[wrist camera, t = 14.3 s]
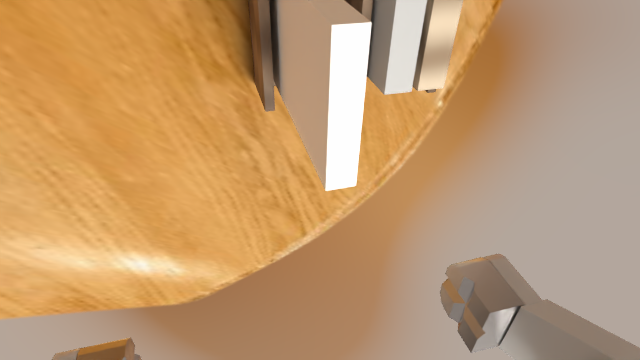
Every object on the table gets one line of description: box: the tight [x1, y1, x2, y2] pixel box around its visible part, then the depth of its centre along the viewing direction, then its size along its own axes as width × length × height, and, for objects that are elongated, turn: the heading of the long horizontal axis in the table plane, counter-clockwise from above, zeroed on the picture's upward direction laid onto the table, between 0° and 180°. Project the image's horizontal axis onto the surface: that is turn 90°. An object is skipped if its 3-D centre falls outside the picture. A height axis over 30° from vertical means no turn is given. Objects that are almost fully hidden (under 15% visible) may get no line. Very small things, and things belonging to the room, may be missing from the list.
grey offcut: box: [367, 0, 427, 95], centre depth 42 cm, size 10×3×10 cm, turn 178°
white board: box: [269, 0, 372, 191], centre depth 35 cm, size 12×2×22 cm, turn 178°
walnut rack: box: [248, 0, 436, 111], centre depth 43 cm, size 15×20×7 cm
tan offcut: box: [412, 0, 463, 91], centre depth 43 cm, size 10×3×10 cm, turn 178°
